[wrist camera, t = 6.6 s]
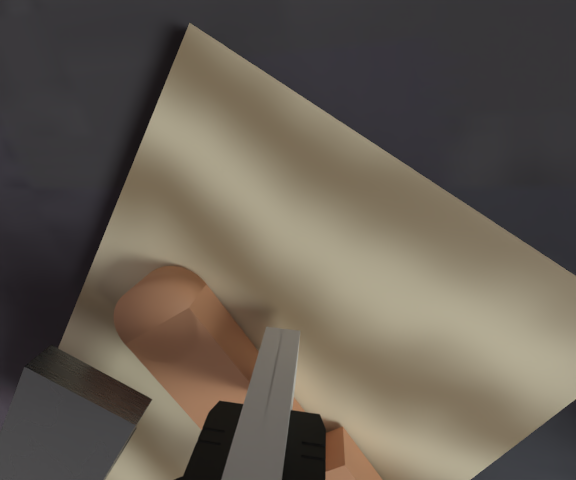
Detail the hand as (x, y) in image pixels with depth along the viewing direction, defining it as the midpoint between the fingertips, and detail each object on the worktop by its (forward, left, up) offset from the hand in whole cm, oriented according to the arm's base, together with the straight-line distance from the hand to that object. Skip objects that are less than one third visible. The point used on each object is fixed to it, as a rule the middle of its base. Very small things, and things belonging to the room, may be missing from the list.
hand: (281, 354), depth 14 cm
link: (+4, +1, -1) cm, 5 cm away
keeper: (+8, -6, -1) cm, 10 cm away
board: (+5, +2, -3) cm, 6 cm away
